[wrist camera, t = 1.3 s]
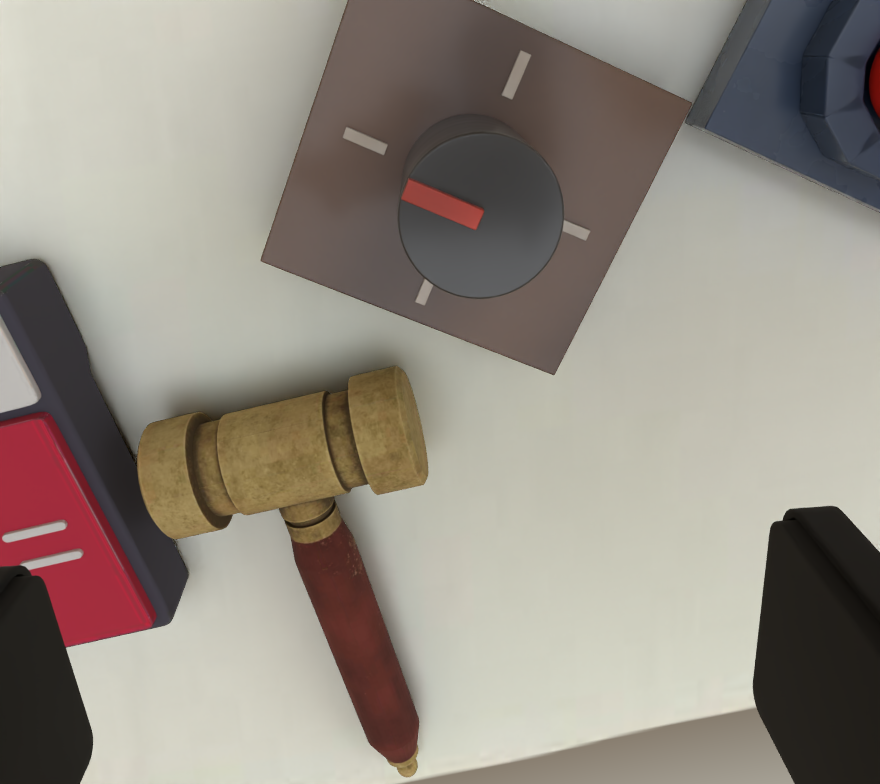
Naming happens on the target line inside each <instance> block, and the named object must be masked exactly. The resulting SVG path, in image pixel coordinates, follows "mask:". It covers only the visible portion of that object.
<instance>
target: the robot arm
mask: <svg viewBox="0 0 880 784" xmlns="http://www.w3.org/2000/svg"><path fill="white" fill-rule="evenodd" d="M753 694H754V699H755V704H756V707H757V710H758V712H759V714H760V717H761V719H762V720H763V723H764V724H765V726H766V728H767V730H768V732H769V734H770V736H771V738H772V740H773V742H774V744H775V746H776V748H777V750H778V752H779V754H780V756H781V758H782V760H783V762H784V764H785V765H786V767H787V769H788V771H789V773H790V775H791V777H792V779H793V781H794V783H795V784H880V552H879V551H878V550H877V549H876V548H875V547H874V546H873V544H872V543H871V542H870V541H869V540H868V539H867V538H866V537H865V536H864V535H863V534H862V532H861V531H860V530H859V529H858V528H857V527H856V526H855V525H854V524H853V523H852V521H851V520H850V519H849V518H848V517H847V516H846V515H845V514H844V513H843V512H842V511H841V510H840V509H839V508H838V507H835V506H824V507H811V508H797V509H789V510H788V511H786V513H785V515H784V517H783V521H776V522H774V523H773V524H772V526H771V528H770V533H769V542H768V551H767V560H766V569H765V578H764V587H763V596H762V605H761V614H760V623H759V632H758V642H757V651H756V660H755V669H754V678H753ZM92 749H93V734H92V730H91V726H90V723H89V720H88V717H87V714H86V711H85V707H84V704H83V701H82V698H81V695H80V692H79V688H78V685H77V682H76V679H75V676H74V673H73V669H72V666H71V663H70V660H69V657H68V654H67V650H66V647H65V644H64V641H63V638H62V635H61V632H60V628H59V625H58V622H57V619H56V616H55V613H54V609H53V606H52V603H51V600H50V597H49V594H48V590H47V587H46V585H45V582H44V580H43V579H42V578H41V577H40V576H37V575H35V576H32V574H31V572H30V571H29V570H28V569H27V568H26V567H25V566H22V565H15V566H2V567H0V784H80V782H81V780H82V778H83V775H84V773H85V771H86V769H87V767H88V764H89V762H90V759H91V755H92Z"/></svg>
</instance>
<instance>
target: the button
mask: <svg viewBox="0 0 880 784" xmlns="http://www.w3.org/2000/svg"><path fill="white" fill-rule="evenodd" d="M869 93H870V99H871V103H872V105H873V108H874V110H875V112H876V113H877V115H878V117H879V118H880V48H879V50H878V52H877V54H876V56H875V58H874V61H873V63H872V67H871V71H870V77H869Z"/></svg>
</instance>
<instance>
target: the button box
mask: <svg viewBox="0 0 880 784" xmlns="http://www.w3.org/2000/svg"><path fill="white" fill-rule="evenodd" d="M879 48H880V0H747V2H746V4H745V6H744V8H743V10H742V11H741V13H740V15H739V17H738V19H737V21H736V23H735V25H734V27H733V29H732V31H731V33H730V35H729V37H728V39H727V41H726V43H725V45H724V47H723V49H722V51H721V53H720V55H719V57H718V59H717V61H716V63H715V65H714V67H713V68H712V70H711V72H710V74H709V76H708V78H707V80H706V82H705V84H704V86H703V88H702V90H701V92H700V94H699V96H698V98H697V100H696V102H695V104H694V106H693V108H692V110H691V112H690V114H689V116H688V118H687V120H686V124H689V125H691V126H693V127H695V128H697V129H699V130H702V131H704V132H706V133H708V134H710V135H712V136H715V137H717V138H719V139H721V140H723V141H725V142H728V143H730V144H732V145H734V146H736V147H738V148H740V149H743V150H745V151H747V152H749V153H751V154H753V155H756V156H758V157H760V158H762V159H764V160H766V161H769V162H771V163H773V164H775V165H777V166H779V167H782V168H784V169H786V170H788V171H790V172H792V173H795V174H797V175H799V176H801V177H803V178H805V179H808V180H810V181H812V182H814V183H816V184H818V185H821V186H823V187H825V188H827V189H829V190H831V191H834V192H836V193H838V194H840V195H842V196H844V197H847V198H849V199H851V200H853V201H855V202H857V203H860V204H862V205H864V206H866V207H868V208H870V209H872V210H875V211H877V212H879V213H880V118H879V117H878V115H877V113H876V112H875V110H874V108H873V105H872V103H871V99H870V93H869V77H870V71H871V67H872V63H873V61H874V58H875V56H876V54H877V52H878V50H879Z"/></svg>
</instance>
